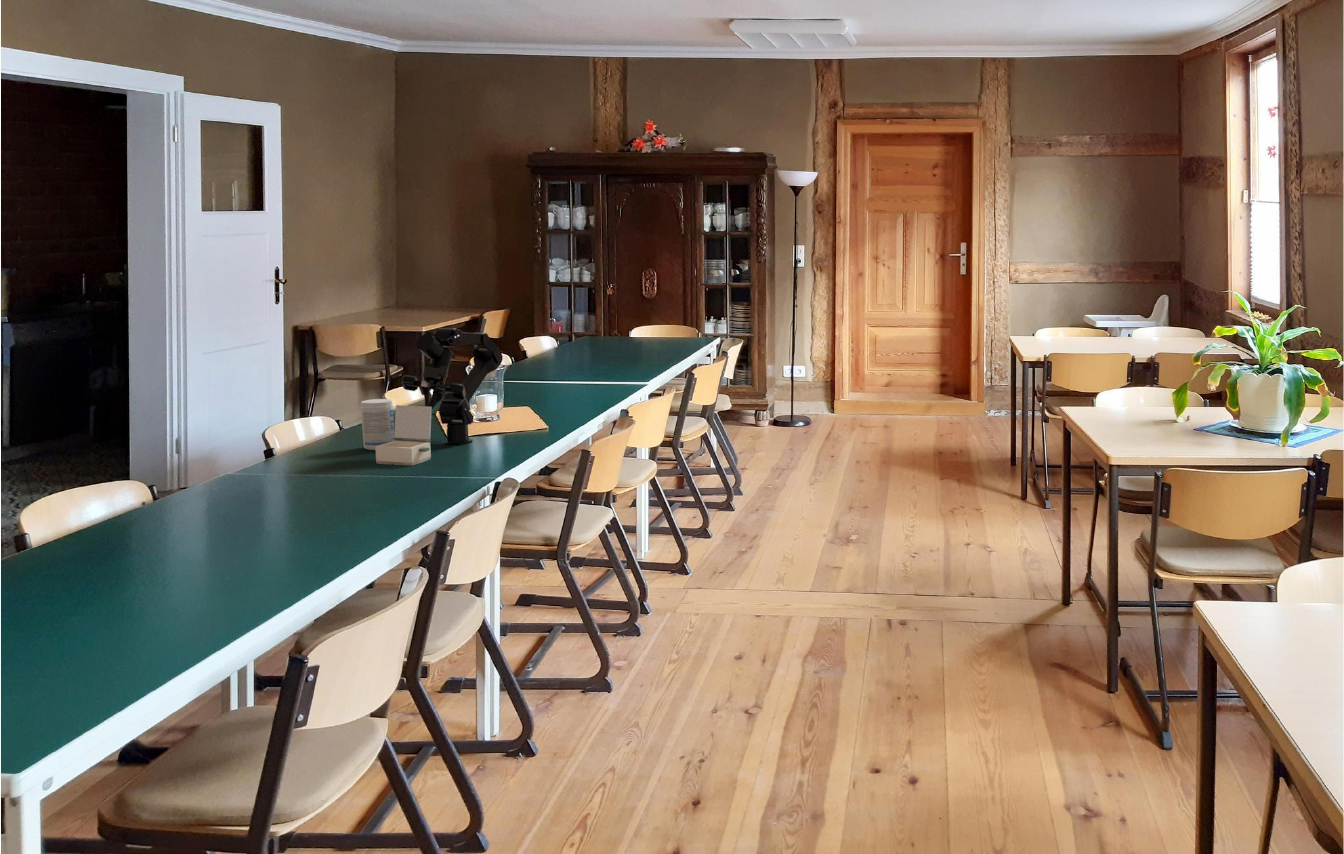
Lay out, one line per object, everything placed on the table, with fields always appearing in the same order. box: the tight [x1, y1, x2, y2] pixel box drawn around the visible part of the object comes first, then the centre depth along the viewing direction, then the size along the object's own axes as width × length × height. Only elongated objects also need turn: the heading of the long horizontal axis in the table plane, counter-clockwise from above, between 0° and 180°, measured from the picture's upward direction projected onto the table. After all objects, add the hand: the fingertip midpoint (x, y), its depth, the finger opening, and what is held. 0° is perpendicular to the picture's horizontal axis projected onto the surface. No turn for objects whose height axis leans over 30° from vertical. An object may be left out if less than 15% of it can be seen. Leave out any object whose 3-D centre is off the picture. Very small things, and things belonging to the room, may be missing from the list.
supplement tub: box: [360, 398, 396, 451], centre depth 383 cm, size 10×10×15 cm
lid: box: [394, 404, 433, 443], centre depth 366 cm, size 10×12×2 cm
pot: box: [375, 440, 432, 467], centre depth 362 cm, size 10×16×5 cm, turn 69°
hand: (427, 412), depth 372 cm, fingers closed
